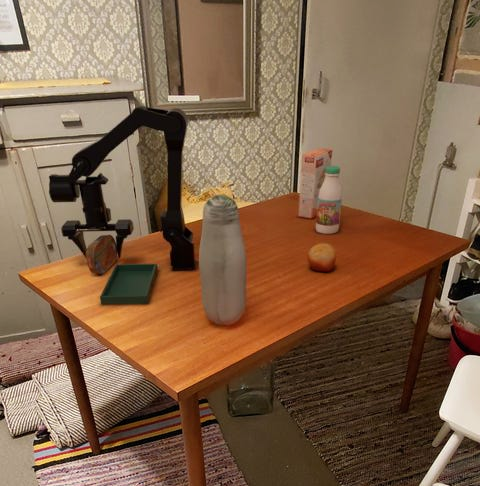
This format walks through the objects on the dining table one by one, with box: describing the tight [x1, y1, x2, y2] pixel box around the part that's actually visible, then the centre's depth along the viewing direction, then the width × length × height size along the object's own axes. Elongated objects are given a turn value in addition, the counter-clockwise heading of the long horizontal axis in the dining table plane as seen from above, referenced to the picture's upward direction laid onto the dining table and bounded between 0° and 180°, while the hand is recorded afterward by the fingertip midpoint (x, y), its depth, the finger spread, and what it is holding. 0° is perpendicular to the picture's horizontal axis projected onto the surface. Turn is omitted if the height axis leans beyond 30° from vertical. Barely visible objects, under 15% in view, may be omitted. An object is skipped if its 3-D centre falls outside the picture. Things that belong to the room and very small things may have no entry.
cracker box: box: [297, 147, 333, 220], centre depth 176 cm, size 14×6×21 cm, turn 149°
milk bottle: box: [315, 165, 343, 235], centre depth 160 cm, size 8×8×20 cm
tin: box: [85, 234, 118, 275], centre depth 140 cm, size 15×3×8 cm, turn 168°
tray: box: [99, 263, 159, 306], centre depth 131 cm, size 12×21×2 cm, turn 1°
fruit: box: [306, 242, 337, 272], centre depth 138 cm, size 8×8×8 cm
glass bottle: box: [198, 194, 247, 326], centre depth 107 cm, size 10×10×28 cm
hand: (103, 258), depth 140 cm, fingers open, 9 cm apart
